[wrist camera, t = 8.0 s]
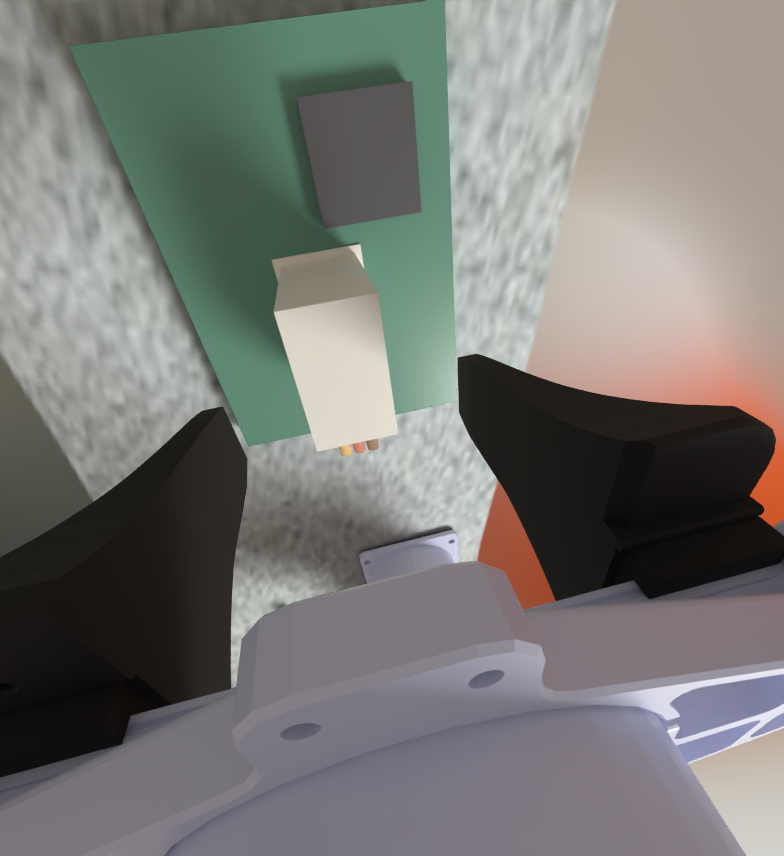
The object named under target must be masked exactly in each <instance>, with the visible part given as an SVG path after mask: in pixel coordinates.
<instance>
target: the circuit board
mask: <svg viewBox="0 0 784 856" xmlns="http://www.w3.org/2000/svg"><path fill="white" fill-rule="evenodd" d="M69 48H70V51H71V53H72V55H73V57H74V59H75V62H76V64H77V66H78V68H79V71H80V73H81V75H82V77H83V80H84V82H85V84H86V86H87V88H88V91H89V93H90V95H91V97H92V100H93V102H94V104H95V106H96V108H97V111H98V113H99V115H100V117H101V120H102V122H103V124H104V126H105V129H106V131H107V133H108V135H109V137H110V140H111V142H112V144H113V146H114V149H115V151H116V153H117V155H118V157H119V160H120V162H121V164H122V166H123V169H124V171H125V173H126V175H127V177H128V180H129V182H130V184H131V186H132V189H133V191H134V193H135V195H136V198H137V200H138V202H139V204H140V206H141V209H142V211H143V213H144V215H145V218H146V220H147V222H148V224H149V226H150V229H151V231H152V233H153V235H154V238H155V240H156V242H157V244H158V246H159V249H160V251H161V253H162V255H163V258H164V260H165V262H166V264H167V267H168V269H169V271H170V273H171V275H172V278H173V280H174V282H175V284H176V287H177V289H178V291H179V293H180V295H181V298H182V300H183V302H184V304H185V307H186V309H187V311H188V313H189V315H190V318H191V320H192V322H193V324H194V327H195V329H196V331H197V333H198V336H199V338H200V340H201V342H202V344H203V347H204V349H205V351H206V353H207V356H208V358H209V360H210V362H211V364H212V367H213V369H214V371H215V373H216V376H217V378H218V380H219V382H220V385H221V387H222V389H223V391H224V393H225V396H226V398H227V400H228V402H229V405H230V407H231V409H232V411H233V413H234V416H235V418H236V420H237V422H238V425H239V427H240V429H241V431H242V433H243V436H244V438H245V440H246V442H247V445H248V447H249V446H254V445H259V444H263V443H268V442H272V441H277V440H281V439H286V438H291V437H295V436H300V435H304V434H309V433H311V430H310V427H309V424H308V421H307V417H306V414H305V411H304V408H303V405H302V401H301V398H300V395H299V392H298V389H297V385H296V382H295V379H294V376H293V373H292V369H291V366H290V363H289V360H288V357H287V353H286V350H285V347H284V344H283V341H282V337H281V334H280V331H279V328H278V324H277V321H276V318H275V315H274V307H275V301H276V295H277V288H278V282H279V276H280V270H281V266H286V265H292V264H297V263H303V262H309V261H314V260H320V259H325V258H331V257H337V256H342V255H348V254H354V253H355V254H356V256H357V258H358V259H359V261H360V263H361V264H362V266H363V268H364V270H365V271H366V273H367V275H368V277H369V278H370V280H371V282H372V283H373V285H374V287H375V289H376V290H377V292H378V297H379V304H380V311H381V318H382V325H383V332H384V339H385V346H386V353H387V360H388V367H389V374H390V381H391V388H392V395H393V402H394V409H395V415H396V414H401V413H405V412H410V411H415V410H419V409H424V408H428V407H433V406H438V405H442V404H447V403H451V402H456V401H457V387H456V354H455V321H454V289H453V256H452V223H451V190H450V157H449V124H448V91H447V58H446V25H445V0H429V1H421V2H414V3H406V4H398V5H390V6H382V7H374V8H366V9H358V10H350V11H342V12H334V13H327V14H319V15H311V16H303V17H295V18H287V19H279V20H271V21H263V22H255V23H248V24H240V25H232V26H224V27H216V28H208V29H200V30H192V31H184V32H176V33H168V34H161V35H153V36H145V37H137V38H129V39H121V40H113V41H105V42H97V43H89V44H82V45H74V46H69Z"/></svg>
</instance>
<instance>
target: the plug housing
mask: <svg viewBox="0 0 784 856" xmlns="http://www.w3.org/2000/svg"><path fill="white" fill-rule="evenodd" d="M274 315H275V318H276V321H277V324H278V328H279V331H280V334H281V337H282V341H283V344H284V347H285V350H286V353H287V357H288V360H289V363H290V366H291V369H292V373H293V376H294V379H295V382H296V385H297V389H298V392H299V395H300V398H301V401H302V405H303V408H304V411H305V414H306V417H307V421H308V424H309V427H310V430H311V434H312V437H313V440H314V443H315V446H316V450H317V452H318V451H323V450H327V449H332V448H336V447H339V448H340V452H341V455H342V456H349V455H351V454H352V449H351V444H353V447H354V451H355V452H356V453H363V452H364V451H365V444H364V441H366V442H367V447H368V449H369V450H376V449H377V448H378V447H379V444H378V439H377V438H382V437H386V436H391V435H395V434H398V430H397V423H396V416H395V409H394V402H393V395H392V388H391V381H390V374H389V367H388V360H387V353H386V346H385V339H384V332H383V325H382V318H381V311H380V304H379V297H378V292H377V290H376V289H375V287H374V285H373V283H372V282H371V280H370V278H369V277H368V275H367V273H366V271H365V270H364V268H363V266H362V264H361V263H360V261H359V259H358V258H357V256H356V254H355V253H354V254H348V255H342V256H337V257H331V258H325V259H320V260H314V261H309V262H303V263H297V264H292V265H286V266H281V270H280V276H279V282H278V288H277V295H276V301H275V307H274Z"/></svg>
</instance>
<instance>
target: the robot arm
mask: <svg viewBox="0 0 784 856" xmlns="http://www.w3.org/2000/svg"><path fill="white" fill-rule="evenodd" d="M458 391H459V413H460V415H461V418H462V420H463V422H464V425H465V427H466V429H467V431H468V433H469V435H470V437H471V439H472V440H473V442H474V444H475V445H476V447H477V448H478V450H479V451H480V453H481V455H482V456H483V458H484V459H485V461H486V462H487V464H488V465H489V467H490V468H491V470H492V471H493V473H494V474H495V476H496V477H497V479H498V481H499V482H500V484H501V485H502V487H503V488H504V490H505V492H506V494H507V495H508V497H509V499H510V501H511V503H512V505H513V507H514V509H515V511H516V513H517V515H518V517H519V519H520V521H521V523H522V525H523V527H524V529H525V531H526V534H527V536H528V538H529V540H530V542H531V544H532V547H533V549H534V551H535V553H536V555H537V558H538V560H539V562H540V565H541V567H542V569H543V571H544V574H545V576H546V578H547V581H548V583H549V585H550V588H551V590H552V593H553V595H554V598H555V600H556V601H555V602H552V603H548V604H544V605H540V606H537V607H533V608H529V609H526V610H523V609H522V607H521V605H520V603H519V601H518V599H517V597H516V595H515V593H514V591H513V589H512V587H511V585H510V583H509V581H508V579H507V577H506V575H505V573H504V571H502V570H499V569H497V568H494V567H491V566H489V565H486V564H483V563H480V562H476V561H471V562H460V563H458V540H457V534H456V531H454V530H449V531H445V532H441V533H437V534H433V535H429V536H425V537H421V538H417V539H412V540H408V541H404V542H400V543H396V544H392V545H388V546H384V547H380V548H376V549H372V550H368V551H364V552H362V553H361V554H360V555H359V557H360V562H361V566H362V569H363V572H364V576H365V579H366V583H367V584H364V585H360V586H356V587H352V588H348V589H344V590H340V591H336V592H332V593H328V594H324V595H320V596H317V597H313V598H309V599H305V600H301V601H297V602H294V603H291V604H289V605H287V606H284V607H282V608H280V609H277V610H275V611H273V612H270V613H268V614H266V615H264V616H263V617H262V618H260V619H259V620H258V621H257V622H256V624H255V625H254V626H253V627H252V628H251V629H250V630H249V631H248V633H247V634H246V635H245V636H244V637H243V638H242V642H241V651H240V659H239V668H238V676H237V685H236V688H232V689H231V606H232V584H233V567H234V558H235V551H236V545H237V539H238V534H239V528H240V523H241V518H242V512H243V506H244V501H245V495H246V488H247V457H246V455H245V453H244V451H243V449H242V447H241V444H240V442H239V440H238V438H237V436H236V434H235V431H234V429H233V427H232V425H231V423H230V421H229V418H228V416H227V414H226V412H225V410H224V408H223V407H218V408H214V409H209V410H204V411H201V412H200V413H199V414H197V415H196V416H195V417H194V418H192V419H191V420H190V421H189V422H188V423H187V424H186V425H185V426H184V427H183V428H182V429H180V430H179V431H178V432H177V433H176V434H175V435H174V436H173V437H172V438H171V439H170V440H169V441H168V442H167V443H166V444H164V445H163V446H162V447H161V448H160V449H159V450H158V451H157V452H156V453H155V454H153V455H152V456H151V457H150V458H149V459H148V460H147V461H145V462H144V463H143V464H142V465H141V466H140V467H138V468H137V469H136V470H135V471H134V472H133V473H132V474H130V475H129V476H128V477H127V478H125V479H124V480H123V481H122V482H120V483H119V484H118V485H116V486H115V487H114V488H112V489H111V490H110V491H108V492H107V493H105V494H104V495H103V496H101V497H100V498H99V499H97V500H96V501H94V502H93V503H91V504H90V505H88V506H87V507H85V508H84V509H82V510H81V511H79V512H77V513H76V514H74V515H73V516H71V517H70V518H68V519H66V520H65V521H63V522H62V523H60V524H58V525H57V526H55V527H54V528H52V529H50V530H49V531H47V532H45V533H44V534H42V535H40V536H38V537H37V538H35V539H33V540H31V541H30V542H28V543H26V544H24V545H22V546H20V547H19V548H17V549H15V550H13V551H11V552H9V553H7V554H6V555H4V556H2V557H0V856H746V855H745V853H744V851H743V850H742V848H741V847H740V845H739V844H738V842H737V841H736V839H735V837H734V836H733V834H732V833H731V831H730V829H729V828H728V826H727V825H726V823H725V822H724V820H723V818H722V817H721V815H720V814H719V813H718V811H717V809H716V807H715V806H714V804H713V803H712V801H711V800H710V798H709V797H708V795H707V793H706V792H705V790H704V789H703V787H702V786H701V784H700V782H699V781H698V780H697V778H696V776H695V775H694V773H693V772H692V770H691V768H690V767H689V765H688V764H690V763H692V762H695V761H697V760H700V759H703V758H705V757H708V756H711V755H713V754H716V753H719V752H721V751H723V750H726V749H729V748H731V747H734V746H737V745H740V744H742V743H745V742H747V741H750V740H753V739H755V738H758V737H761V736H763V735H766V734H769V733H771V732H774V731H776V730H779V729H782V728H784V520H783V521H781V522H779V523H778V524H776V525H775V526H774V527H772V526H771V525H769V524H768V523H767V522H765V521H764V520H763V519H762V518H760V517H759V516H758V515H761V514H762V513H763V512H764V508H763V506H762V505H761V504H760V503H758V502H757V501H756V500H754V499H753V498H751V497H750V494H751V493H752V491H753V489H754V488H755V486H756V484H757V483H758V481H759V479H760V478H761V476H762V474H763V473H764V471H765V470H766V468H767V466H768V464H769V463H770V460H771V458H772V456H773V454H774V449H775V443H776V438H775V435H774V432H773V429H772V428H770V427H769V426H768V425H766V424H765V423H763V422H761V421H759V420H758V419H756V418H754V417H753V416H751V415H749V414H748V413H746V412H744V411H742V410H741V409H739V408H737V407H734V406H713V405H712V406H711V405H682V404H669V403H658V402H647V401H640V400H632V399H631V400H630V399H625V398H619V397H613V396H607V395H601V394H596V393H591V392H587V391H583V390H579V389H575V388H571V387H567V386H564V385H560V384H557V383H554V382H551V381H548V380H545V379H542V378H539V377H536V376H533V375H531V374H528V373H525V372H523V371H520V370H518V369H515V368H513V367H510V366H508V365H505V364H503V363H501V362H498V361H496V360H493V359H491V358H488V357H485V356H482V355H479V354H473V355H468V356H463V357H459V358H458Z"/></svg>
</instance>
